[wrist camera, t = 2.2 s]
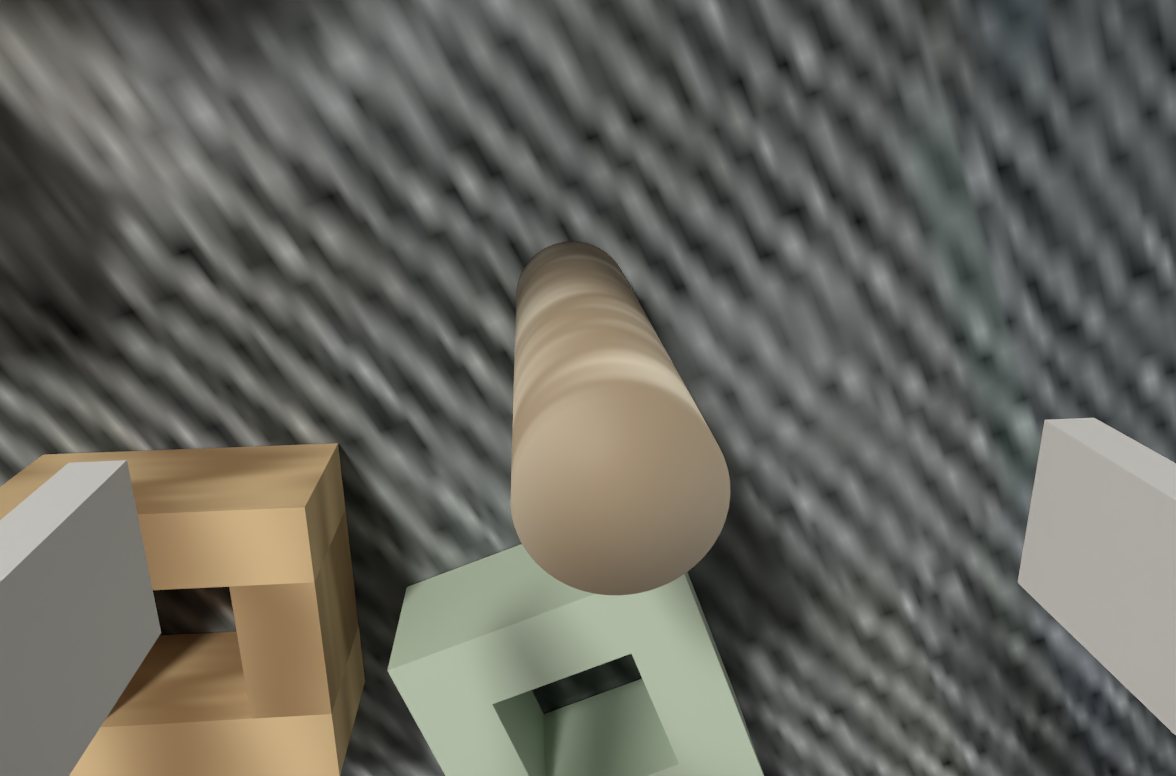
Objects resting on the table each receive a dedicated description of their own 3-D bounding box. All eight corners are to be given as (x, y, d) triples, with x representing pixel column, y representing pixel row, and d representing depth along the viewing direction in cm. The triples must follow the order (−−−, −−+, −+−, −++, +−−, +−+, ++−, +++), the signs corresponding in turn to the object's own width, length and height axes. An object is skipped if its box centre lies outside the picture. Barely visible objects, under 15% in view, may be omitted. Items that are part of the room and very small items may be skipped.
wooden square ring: (337, 443, 28) (304, 507, 23) (365, 681, 31) (339, 777, 26) (43, 454, 27) (-47, 522, 23) (99, 696, 30) (29, 796, 26)
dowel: (627, 239, 26) (735, 390, 13) (627, 349, 27) (726, 589, 14) (514, 242, 26) (505, 398, 13) (518, 352, 27) (515, 600, 14)
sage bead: (656, 493, 29) (679, 562, 25) (737, 699, 32) (770, 793, 28) (406, 587, 29) (387, 670, 25) (508, 782, 32) (506, 886, 28)
